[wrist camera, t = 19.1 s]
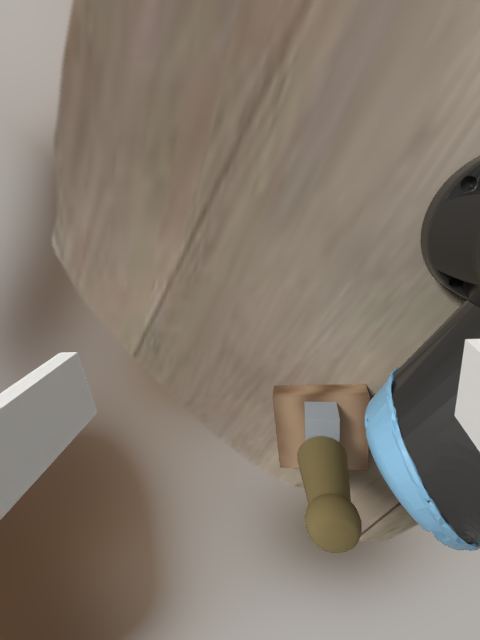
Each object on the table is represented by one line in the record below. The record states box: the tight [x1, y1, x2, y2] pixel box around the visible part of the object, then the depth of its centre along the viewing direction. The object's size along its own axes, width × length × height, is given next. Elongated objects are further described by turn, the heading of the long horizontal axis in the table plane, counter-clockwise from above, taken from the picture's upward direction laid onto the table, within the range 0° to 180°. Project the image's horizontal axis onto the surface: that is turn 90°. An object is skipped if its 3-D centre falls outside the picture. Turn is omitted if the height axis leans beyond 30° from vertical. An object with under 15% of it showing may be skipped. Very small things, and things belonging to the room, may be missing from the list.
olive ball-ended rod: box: [297, 436, 361, 553], centre depth 34 cm, size 6×6×11 cm
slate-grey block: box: [304, 402, 340, 442], centre depth 42 cm, size 4×11×4 cm, turn 5°
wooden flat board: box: [273, 384, 370, 471], centre depth 45 cm, size 12×12×4 cm
